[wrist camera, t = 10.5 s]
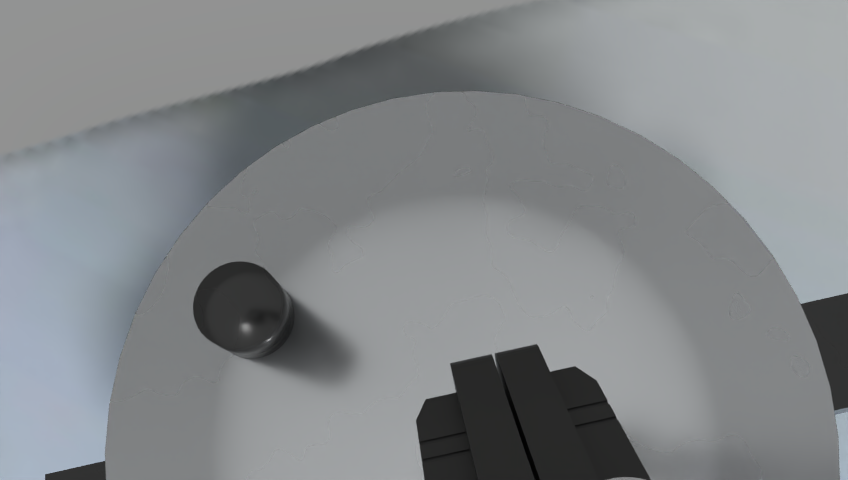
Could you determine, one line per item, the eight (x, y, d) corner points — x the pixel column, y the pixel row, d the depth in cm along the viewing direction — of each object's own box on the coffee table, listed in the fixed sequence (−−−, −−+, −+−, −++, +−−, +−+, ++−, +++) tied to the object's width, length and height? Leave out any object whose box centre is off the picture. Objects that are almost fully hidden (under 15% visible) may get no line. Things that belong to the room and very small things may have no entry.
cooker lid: (939, 757, 17) (1031, 809, 15) (175, 943, 17) (120, 1034, 14) (689, 56, 23) (722, -3, 20) (95, 184, 22) (43, 142, 19)
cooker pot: (867, 676, 27) (1078, 739, 17) (190, 839, 26) (34, 994, 17) (692, 212, 33) (779, 78, 24) (146, 333, 32) (17, 244, 23)
